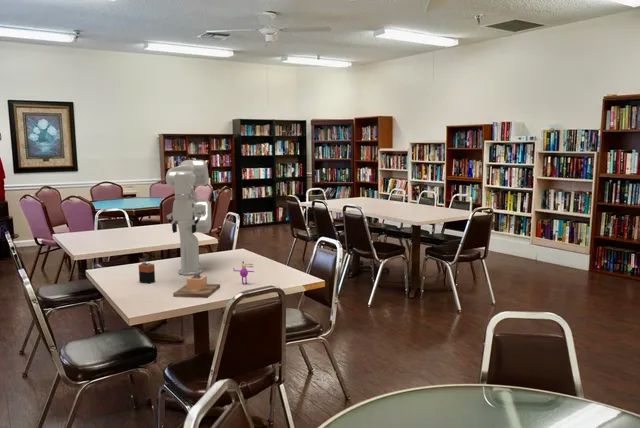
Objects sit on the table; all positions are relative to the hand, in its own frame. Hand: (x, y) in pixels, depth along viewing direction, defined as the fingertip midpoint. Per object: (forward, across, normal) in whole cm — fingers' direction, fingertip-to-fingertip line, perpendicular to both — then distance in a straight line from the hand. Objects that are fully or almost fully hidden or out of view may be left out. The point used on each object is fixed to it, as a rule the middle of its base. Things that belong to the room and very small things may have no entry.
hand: (184, 232), depth 244 cm
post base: (+26, -10, +11) cm, 30 cm away
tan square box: (+24, -10, +11) cm, 29 cm away
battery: (+26, +22, -3) cm, 35 cm away
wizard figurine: (+26, -28, -5) cm, 39 cm away
